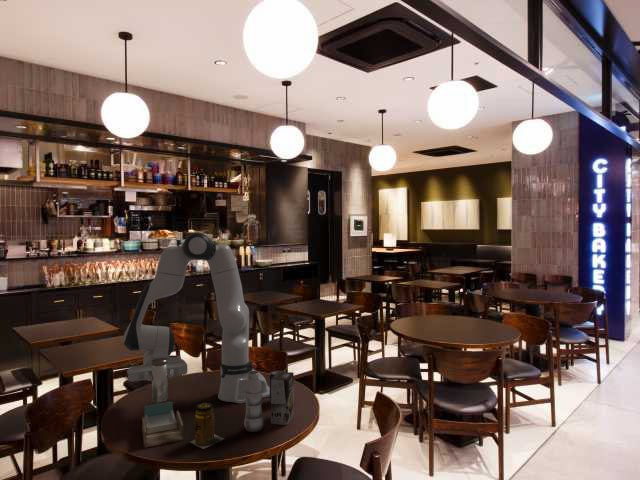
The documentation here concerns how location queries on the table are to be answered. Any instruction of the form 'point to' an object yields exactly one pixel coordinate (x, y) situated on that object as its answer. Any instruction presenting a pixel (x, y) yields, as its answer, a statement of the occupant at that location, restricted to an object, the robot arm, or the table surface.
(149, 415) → the tray
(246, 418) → the plastic bottle
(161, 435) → the housing
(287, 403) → the coffee box
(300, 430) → the table surface
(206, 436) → the condiment
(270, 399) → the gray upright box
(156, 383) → the canister
